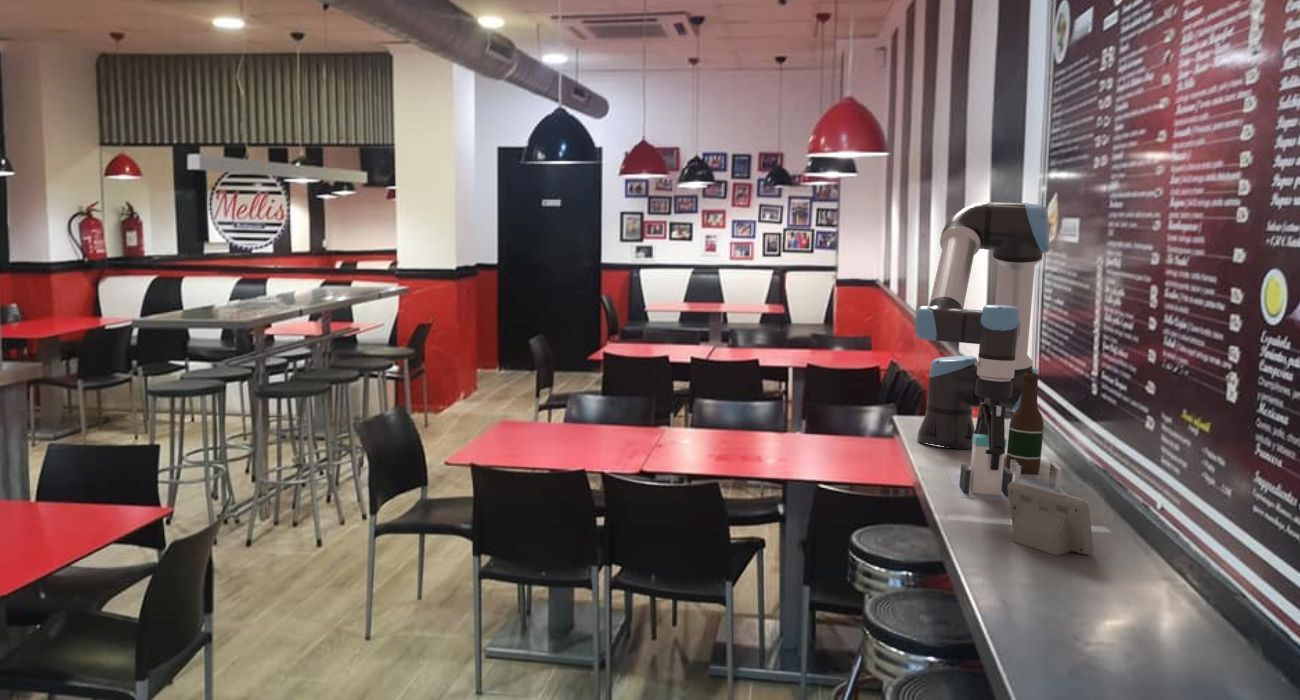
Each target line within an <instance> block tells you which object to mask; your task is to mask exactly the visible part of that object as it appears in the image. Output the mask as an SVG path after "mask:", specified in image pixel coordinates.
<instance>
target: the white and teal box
mask: <svg viewBox="0 0 1300 700" xmlns="http://www.w3.org/2000/svg"><path fill="white" fill-rule="evenodd" d="M972 442H973V444H972V448H971V456H970V468H969V469H970V470H971V474H970V485H969V489H970V491H971V492H972V493H981V494H994V495H1001V488H1002V478H1003V467H1005V465H1004V464H1005V453H1006V452H1005V453H1004V454H1002V457H1001V468H1000V479H999V485H987V484H985V476H986V465H987V454H986V450H989V440H988V435H984V434H973V438H972ZM1007 442H1008V440H1007V439H1006V438H1005V449H1006V448H1007Z"/></svg>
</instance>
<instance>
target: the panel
mask: <svg viewBox="0 0 1300 700" xmlns="http://www.w3.org/2000/svg"><path fill="white" fill-rule="evenodd" d="M945 474H946V476H947V478H948V479H949V481H950V483H951V484H952V486H953V487H954V488H955V491H956V492H957V494H958V496H959V497H960V498H965V499H974V500H975V499H976V500H977V499H979V500H990V501H1001V502H1009V497H1006V496H1005V495H1004V494H1003V492H1002V491H1001V495H994V494H981V493H972V492H971V491H970V489H969V494H966V493H963V491H962V490H961V488H960V486H959V485H960V473H948V472H947V473H945ZM1020 483H1024V484H1028V485H1032V486H1035V487H1039V488H1043V489H1047V490H1051V491H1054V490H1053V489H1052V488H1051V487H1050V486H1049V485H1048V483H1049V480H1042V479H1041V480H1039V479H1028V478H1020ZM1054 492H1056V491H1054ZM1058 493H1062V494H1066V495H1069V493H1067V492H1066V491H1065V490H1064V489H1063V488H1062V486H1060V492H1058Z"/></svg>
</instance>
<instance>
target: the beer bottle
mask: <svg viewBox="0 0 1300 700" xmlns="http://www.w3.org/2000/svg"><path fill="white" fill-rule="evenodd" d="M1023 379H1024V382H1023V388H1022V395H1021V401H1020V404H1019V407H1018V409H1017V410H1016V411H1013V414H1012V416H1011V418H1010V422H1009V427H1008V438H1007V439H1008V440H1007V447H1006V448H1007V449H1006V460H1005V467H1007V468H1008V469H1009V470H1010V461H1011V460H1016V461H1017V462H1018V464H1019V465H1020V466H1021V473H1020V475H1032V476H1033V475H1034V476H1035V475H1036V476H1038V475H1039V474H1040V469H1041V468H1040V467H1041V460H1042V448H1043V447H1042V446H1043V439H1044V419H1043V414H1042V413H1041V411H1040V410H1039V408H1038V404H1039V403H1038V390H1039V385H1038V384H1039V380H1040V374H1039V373H1038V374H1035V373H1025V374H1024V375H1023Z"/></svg>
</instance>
